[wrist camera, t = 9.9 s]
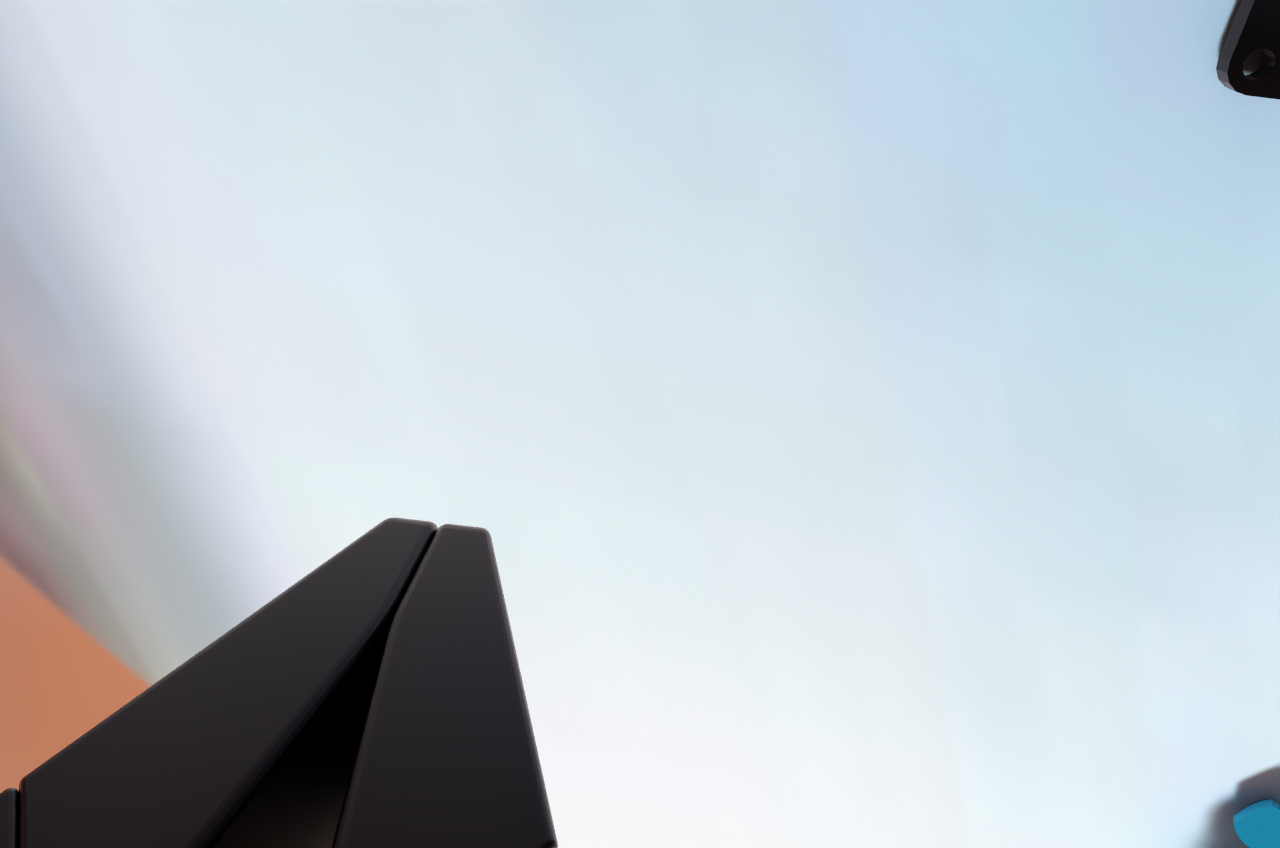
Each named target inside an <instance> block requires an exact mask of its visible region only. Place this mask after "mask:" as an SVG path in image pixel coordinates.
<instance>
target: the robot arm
mask: <svg viewBox="0 0 1280 848" xmlns="http://www.w3.org/2000/svg"><path fill="white" fill-rule="evenodd" d="M1260 49H1261V50H1262V52H1263V60H1262V63H1261V65H1260V66H1259V67H1258V69H1257V70H1256V71H1254V72H1253V73H1251V74H1250V75H1244V73H1243V65H1244V62H1245V60H1246V59H1247V58H1248V56H1249V55H1250V54H1252V53H1253V52H1255V51H1256V50H1260ZM1216 69H1217V74H1218V79H1219V80H1220V81H1221V82H1222V84H1223V85H1224V86H1225V87H1227V88H1229V89H1232V90H1234V91H1236V92H1239V93H1242V94H1244V95H1249V96H1257V97H1265V98H1274V99H1280V0H1242V1H1241V3H1240V6H1239V8H1238V11H1237V13H1236V15H1235V18H1234V20H1233V23H1232V25H1231V28H1230V30H1229V33H1228V35H1227V38H1226V40H1225V43H1224V45H1223V48H1222V50H1221V53H1220V55H1219V59H1218V63H1217V68H1216ZM557 847H558V843H557V839H556V834H555V830H554V825H553V820H552V816H551V811H550V807H549V802H548V797H547V793H546V788H545V784H544V779H543V774H542V770H541V765H540V761H539V756H538V751H537V747H536V742H535V738H534V733H533V728H532V724H531V719H530V715H529V710H528V706H527V701H526V696H525V692H524V687H523V683H522V678H521V673H520V669H519V664H518V660H517V655H516V650H515V646H514V641H513V637H512V632H511V627H510V623H509V618H508V614H507V609H506V604H505V600H504V595H503V591H502V586H501V581H500V577H499V572H498V568H497V563H496V558H495V554H494V549H493V545H492V540H491V536H490V533H489V532H488V531H487V530H486V529H484V528H479V527H470V526H462V525H453V524H445V525H443V526H440V527H439V529H438V527H437V526H436V525H435V524H434V523H432V522H428V521H420V520H411V519H403V518H389V519H386V520H384V521H383V522H381V523H380V524H378V525H377V526H375V527H374V528H373V529H371V530H370V531H368V532H367V533H366V534H364V535H363V536H361V537H360V538H359V539H357V540H356V541H354V542H353V543H352V544H350V545H349V546H347V547H346V548H345V549H343V550H342V551H340V552H339V553H338V554H336V555H335V556H333V557H332V558H331V559H329V560H328V561H326V562H325V563H324V564H322V565H321V566H319V567H318V568H317V569H315V570H314V571H312V572H311V573H310V574H308V575H307V576H305V577H304V578H303V579H301V580H300V581H298V582H297V583H295V584H294V585H293V586H291V587H290V588H288V589H287V590H286V591H284V592H283V593H281V594H280V595H279V596H277V597H276V598H274V599H273V600H272V601H270V602H269V603H267V604H266V605H265V606H263V607H262V608H260V609H259V610H258V611H256V612H255V613H253V614H252V615H251V616H249V617H248V618H246V619H245V620H244V621H242V622H241V623H239V624H238V625H237V626H235V627H234V628H232V629H231V630H230V631H228V632H227V633H225V634H224V635H223V636H221V637H220V638H218V639H217V640H216V641H214V642H213V643H211V644H210V645H209V646H207V647H206V648H204V649H203V650H202V651H200V652H199V653H197V654H196V655H195V656H193V657H192V658H190V659H189V660H188V661H186V662H185V663H183V664H182V665H181V666H179V667H178V668H176V669H175V670H174V671H172V672H171V673H169V674H168V675H167V676H165V677H164V678H162V679H161V680H159V681H158V682H157V683H155V684H154V685H152V686H151V687H150V688H148V689H147V690H145V691H144V692H143V693H141V694H140V695H138V696H137V697H136V698H134V699H133V700H131V701H130V702H129V703H127V704H126V705H125V706H123V707H122V708H120V709H119V710H117V711H116V712H115V713H113V714H112V715H110V716H109V717H108V718H106V719H105V720H103V721H102V722H101V723H99V724H98V725H96V726H95V727H94V728H92V729H91V730H89V731H88V732H87V733H85V734H84V735H82V736H81V737H80V738H78V739H77V740H75V741H74V742H73V743H71V744H70V745H68V746H67V747H66V748H64V749H63V750H61V751H60V752H59V753H57V754H56V755H54V756H53V757H52V758H50V759H49V760H47V761H46V762H45V763H43V764H42V765H40V766H39V767H38V768H36V769H35V770H33V771H32V772H31V773H29V774H28V775H26V776H25V777H24V778H22V779H21V781H20V783H19V791H18V790H17V789H15V788H9V789H6V790H5V791H3V792H2V793H0V848H557Z"/></svg>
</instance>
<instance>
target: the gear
mask: <svg viewBox="0 0 1280 848" xmlns="http://www.w3.org/2000/svg"><path fill="white" fill-rule="evenodd" d="M1233 820H1234V828H1235V831H1236V834H1237V836H1238V837H1239V838H1240V840H1241V841H1242V842H1243V843H1244V844H1245V845H1246V846H1248V847H1249V848H1280V805H1279V804H1278V803H1277V802H1275V801H1274V800H1272V799H1268V800H1262V801H1259V802H1256V803H1253V804H1251V805H1249V806H1247V807H1246V808H1244V809H1242V810H1241V811H1240V812H1238V813H1237V814H1235V815H1234V816H1233Z"/></svg>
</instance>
